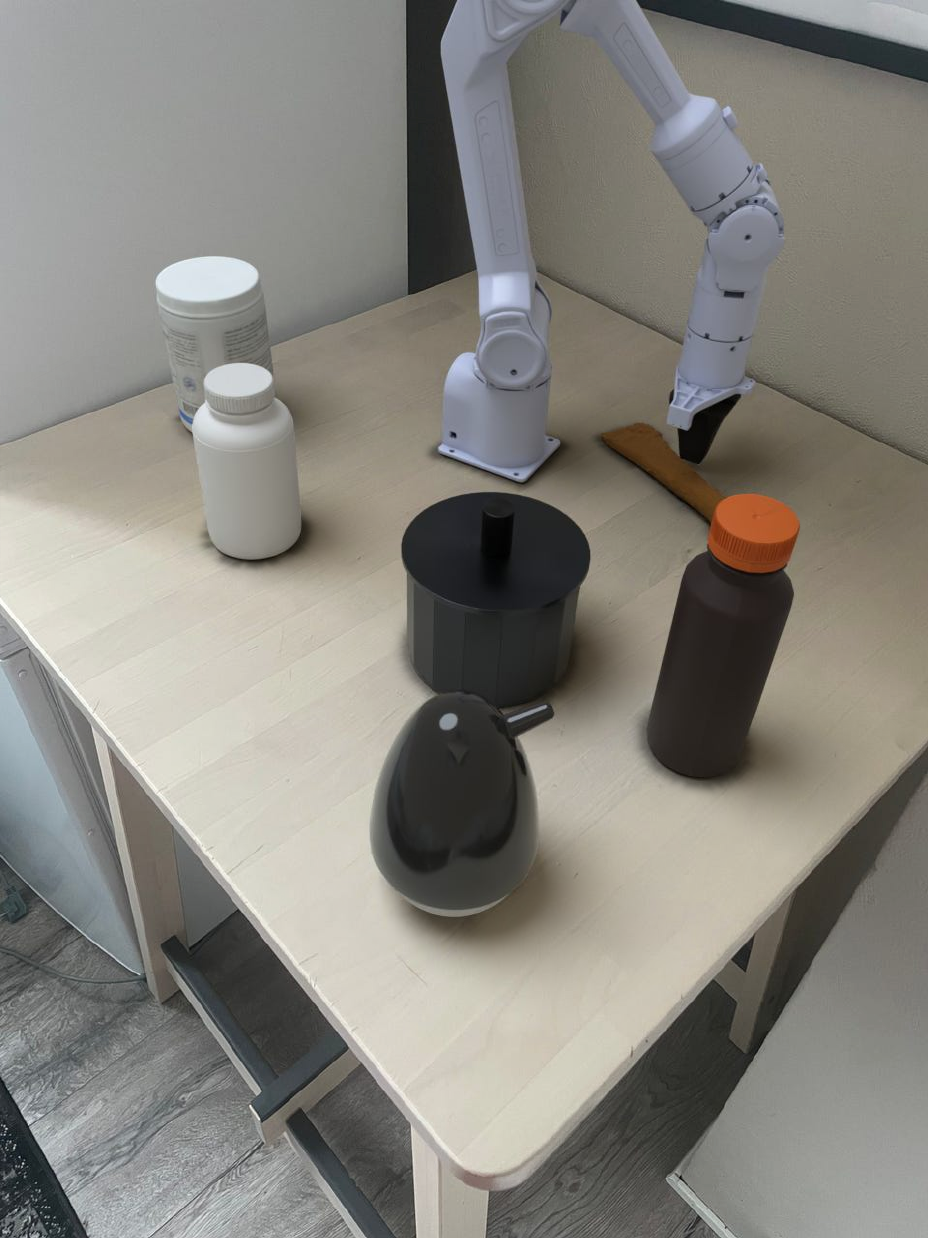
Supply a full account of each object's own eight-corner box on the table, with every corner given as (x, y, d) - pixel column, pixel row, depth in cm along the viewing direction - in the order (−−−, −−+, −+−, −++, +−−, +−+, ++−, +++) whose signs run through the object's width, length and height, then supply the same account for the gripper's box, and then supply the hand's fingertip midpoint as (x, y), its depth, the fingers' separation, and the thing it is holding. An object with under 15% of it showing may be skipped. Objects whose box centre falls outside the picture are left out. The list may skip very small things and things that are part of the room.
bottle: (666, 694, 76) (721, 470, 63) (754, 731, 74) (831, 507, 60) (630, 754, 72) (680, 528, 58) (722, 795, 70) (797, 569, 56)
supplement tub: (274, 389, 106) (259, 251, 96) (282, 439, 100) (267, 296, 90) (178, 397, 105) (153, 257, 95) (180, 449, 98) (153, 303, 88)
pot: (377, 665, 78) (373, 569, 71) (461, 576, 86) (464, 482, 79) (521, 732, 73) (532, 636, 67) (595, 631, 81) (611, 536, 75)
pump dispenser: (555, 927, 62) (584, 766, 52) (385, 957, 60) (378, 797, 50) (514, 793, 69) (531, 629, 59) (360, 816, 67) (351, 651, 57)
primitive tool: (598, 438, 102) (603, 407, 99) (644, 426, 104) (649, 395, 101) (717, 549, 89) (726, 517, 87) (766, 533, 91) (776, 501, 89)
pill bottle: (322, 533, 89) (310, 379, 79) (248, 575, 85) (226, 418, 75) (263, 494, 93) (245, 343, 83) (190, 533, 89) (161, 377, 78)
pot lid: (364, 577, 71) (361, 524, 68) (462, 483, 80) (464, 432, 77) (534, 650, 67) (540, 597, 64) (619, 542, 75) (628, 490, 72)
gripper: (736, 375, 83) (704, 510, 92) (790, 306, 92) (756, 436, 101) (655, 351, 85) (631, 485, 94) (716, 287, 95) (689, 415, 104)
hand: (691, 458), depth 98 cm, fingers closed
